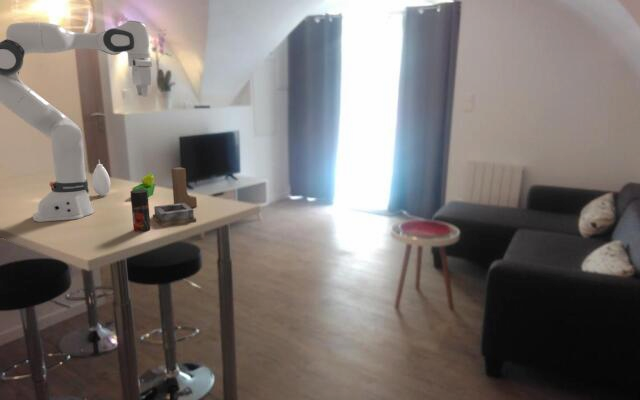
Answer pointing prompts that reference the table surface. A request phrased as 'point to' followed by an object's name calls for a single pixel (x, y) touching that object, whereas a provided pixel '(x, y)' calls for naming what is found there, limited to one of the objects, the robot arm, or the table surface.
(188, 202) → the wooden block
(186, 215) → the grey shallow box
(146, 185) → the fruit basket
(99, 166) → the white teardrop ornament
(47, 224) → the table surface
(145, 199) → the deodorant
